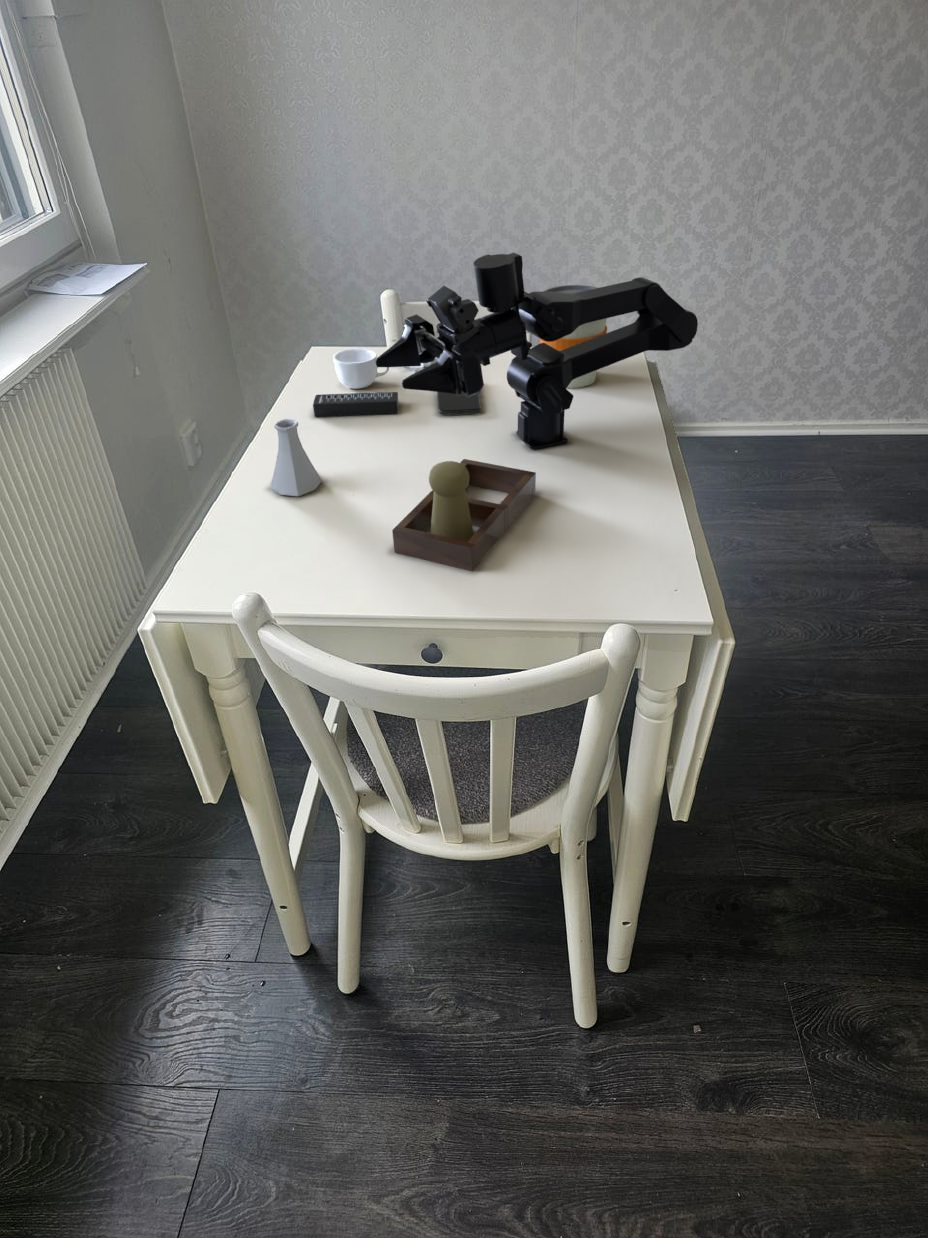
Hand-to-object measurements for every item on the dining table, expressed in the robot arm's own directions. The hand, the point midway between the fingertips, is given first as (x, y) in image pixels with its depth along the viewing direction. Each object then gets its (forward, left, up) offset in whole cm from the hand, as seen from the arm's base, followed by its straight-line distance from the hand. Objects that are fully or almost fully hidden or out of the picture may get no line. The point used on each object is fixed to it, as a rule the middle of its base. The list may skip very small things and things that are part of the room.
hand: (388, 373), depth 119 cm
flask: (+15, -4, -16) cm, 22 cm away
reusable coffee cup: (-40, -25, -16) cm, 50 cm away
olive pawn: (-2, +20, -16) cm, 26 cm away
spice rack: (-5, +16, -16) cm, 24 cm away
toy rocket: (-17, -46, -16) cm, 51 cm away
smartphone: (-18, -25, -16) cm, 35 cm away
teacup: (-4, -38, -16) cm, 41 cm away
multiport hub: (0, -27, -16) cm, 31 cm away
